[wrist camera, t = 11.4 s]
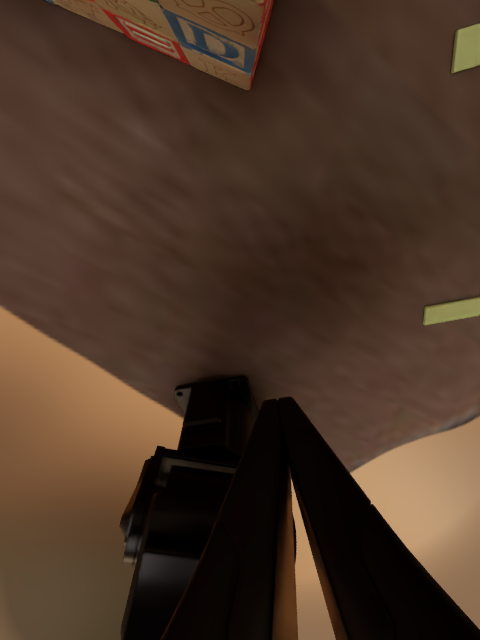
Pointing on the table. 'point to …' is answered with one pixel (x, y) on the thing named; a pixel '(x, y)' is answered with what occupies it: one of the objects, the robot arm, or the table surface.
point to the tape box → (468, 52)
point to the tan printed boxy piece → (190, 30)
